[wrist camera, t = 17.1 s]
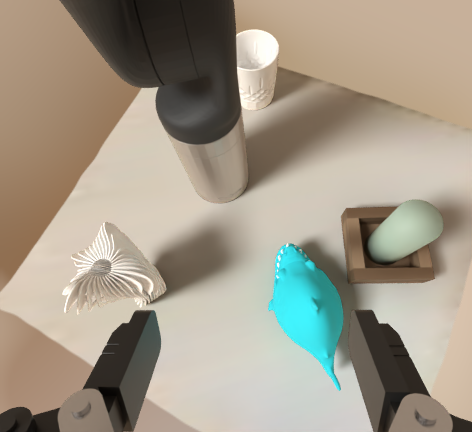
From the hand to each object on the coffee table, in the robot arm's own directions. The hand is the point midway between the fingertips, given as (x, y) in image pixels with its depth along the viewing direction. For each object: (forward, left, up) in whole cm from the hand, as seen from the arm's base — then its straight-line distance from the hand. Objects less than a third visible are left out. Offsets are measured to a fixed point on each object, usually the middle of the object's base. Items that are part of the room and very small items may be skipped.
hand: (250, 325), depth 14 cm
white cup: (-36, +16, -34) cm, 52 cm away
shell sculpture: (-13, -13, -34) cm, 38 cm away
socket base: (-3, +20, -34) cm, 39 cm away
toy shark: (+1, +7, -34) cm, 35 cm away
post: (-3, +21, -33) cm, 39 cm away
